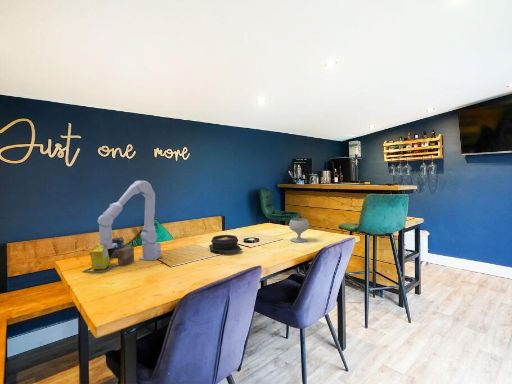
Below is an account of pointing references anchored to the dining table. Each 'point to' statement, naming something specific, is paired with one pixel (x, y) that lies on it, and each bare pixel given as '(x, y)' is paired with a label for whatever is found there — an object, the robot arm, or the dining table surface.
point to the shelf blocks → (125, 256)
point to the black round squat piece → (225, 244)
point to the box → (119, 246)
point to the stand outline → (97, 271)
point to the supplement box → (99, 257)
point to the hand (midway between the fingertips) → (106, 264)
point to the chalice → (299, 228)
